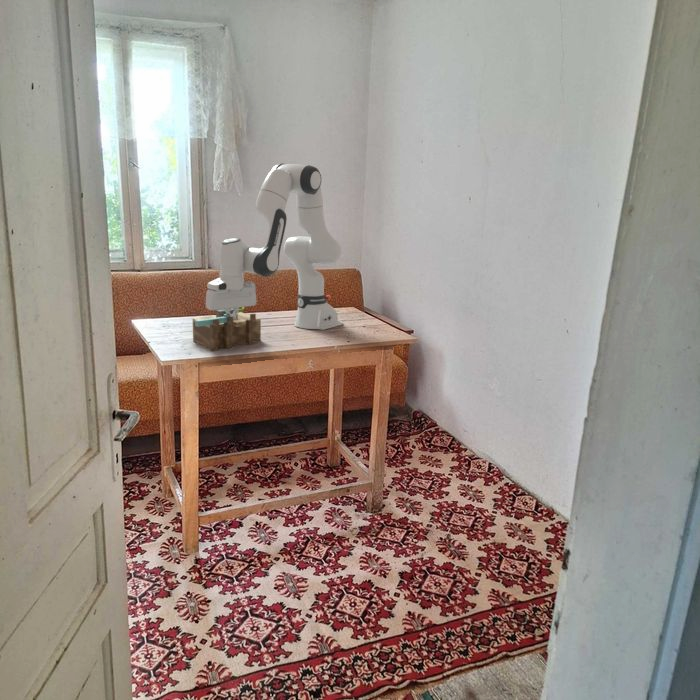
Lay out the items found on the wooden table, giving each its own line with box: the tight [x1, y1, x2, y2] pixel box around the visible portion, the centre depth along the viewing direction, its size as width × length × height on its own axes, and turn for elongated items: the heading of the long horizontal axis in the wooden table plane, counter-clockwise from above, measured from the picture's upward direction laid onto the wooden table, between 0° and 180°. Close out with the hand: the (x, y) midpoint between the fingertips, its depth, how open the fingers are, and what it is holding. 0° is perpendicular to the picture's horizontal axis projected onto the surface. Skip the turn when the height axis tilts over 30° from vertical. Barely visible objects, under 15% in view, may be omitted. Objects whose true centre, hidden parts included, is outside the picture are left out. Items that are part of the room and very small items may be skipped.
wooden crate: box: [192, 313, 262, 352], centre depth 233 cm, size 23×18×12 cm
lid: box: [192, 308, 262, 328], centre depth 233 cm, size 22×17×5 cm
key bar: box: [195, 314, 230, 327], centre depth 220 cm, size 13×2×3 cm, turn 133°
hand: (231, 319), depth 226 cm, fingers closed
